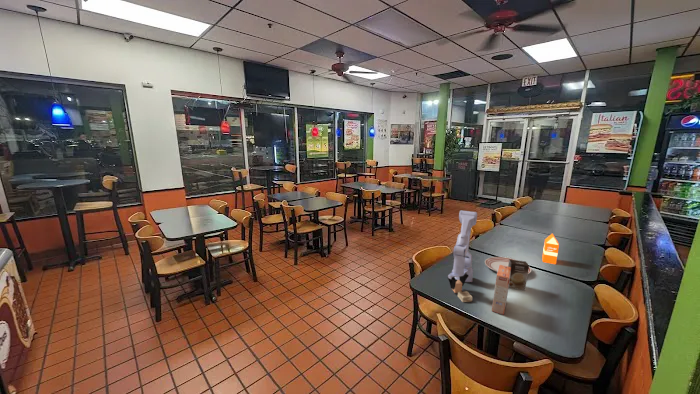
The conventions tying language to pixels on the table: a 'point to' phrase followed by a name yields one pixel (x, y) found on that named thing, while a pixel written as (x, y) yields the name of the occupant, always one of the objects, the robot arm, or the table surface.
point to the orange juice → (550, 250)
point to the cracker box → (501, 289)
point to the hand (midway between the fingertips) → (457, 286)
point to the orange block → (458, 287)
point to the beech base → (465, 296)
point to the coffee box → (518, 274)
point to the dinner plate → (499, 263)
